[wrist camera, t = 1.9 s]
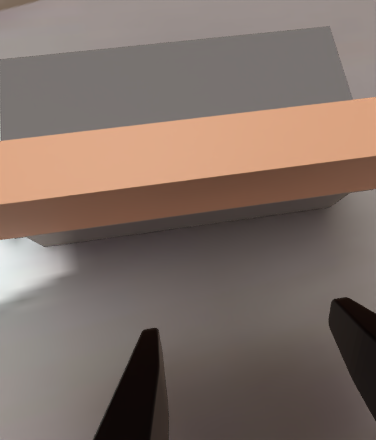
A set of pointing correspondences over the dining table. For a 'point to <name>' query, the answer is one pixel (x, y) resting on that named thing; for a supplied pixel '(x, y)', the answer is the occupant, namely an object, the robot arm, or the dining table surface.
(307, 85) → the cable box
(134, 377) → the robot arm
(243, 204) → the lid
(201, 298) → the dining table surface
